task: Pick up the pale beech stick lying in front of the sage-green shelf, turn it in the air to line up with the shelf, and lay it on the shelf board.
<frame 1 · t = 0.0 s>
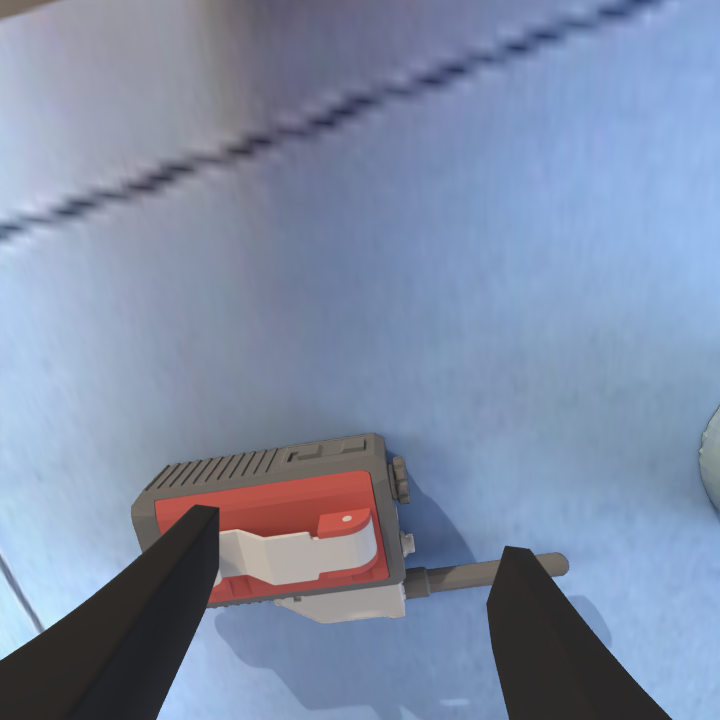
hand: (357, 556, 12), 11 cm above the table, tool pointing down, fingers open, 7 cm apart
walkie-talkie: (348, 512, 23), on the table
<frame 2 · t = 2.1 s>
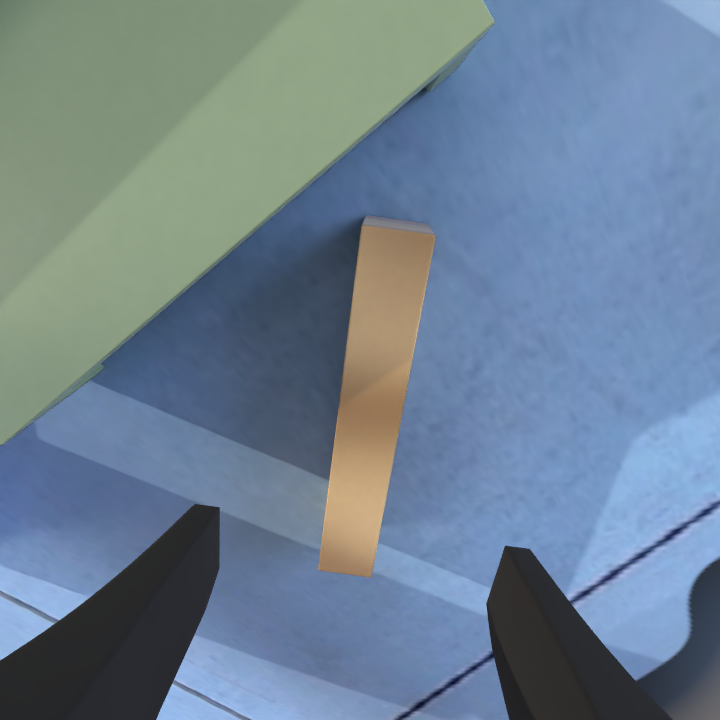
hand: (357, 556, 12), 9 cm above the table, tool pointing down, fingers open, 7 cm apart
stick: (369, 394, 20), on the table
shelf: (161, 148, 17), on the table
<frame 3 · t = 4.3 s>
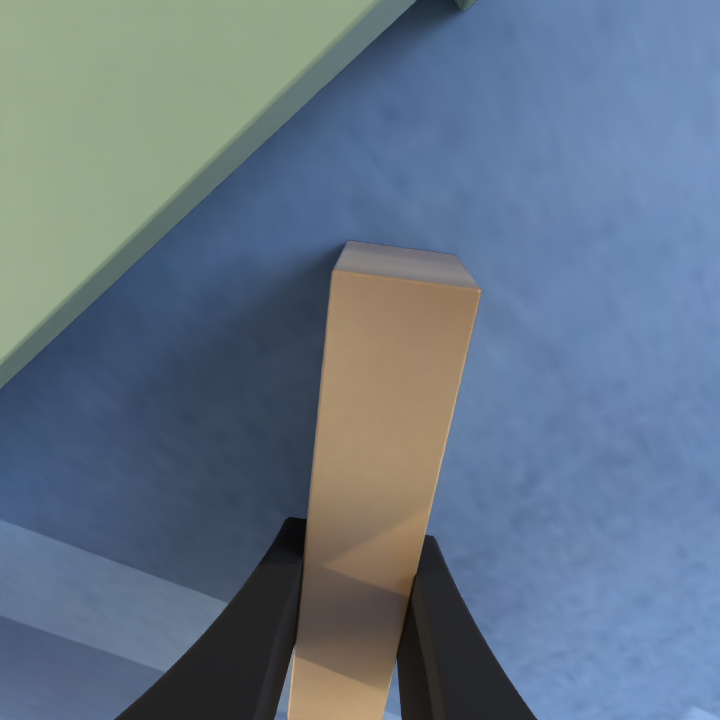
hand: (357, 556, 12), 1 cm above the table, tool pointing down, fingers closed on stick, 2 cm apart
stick: (359, 517, 13), on the table, touching gripper
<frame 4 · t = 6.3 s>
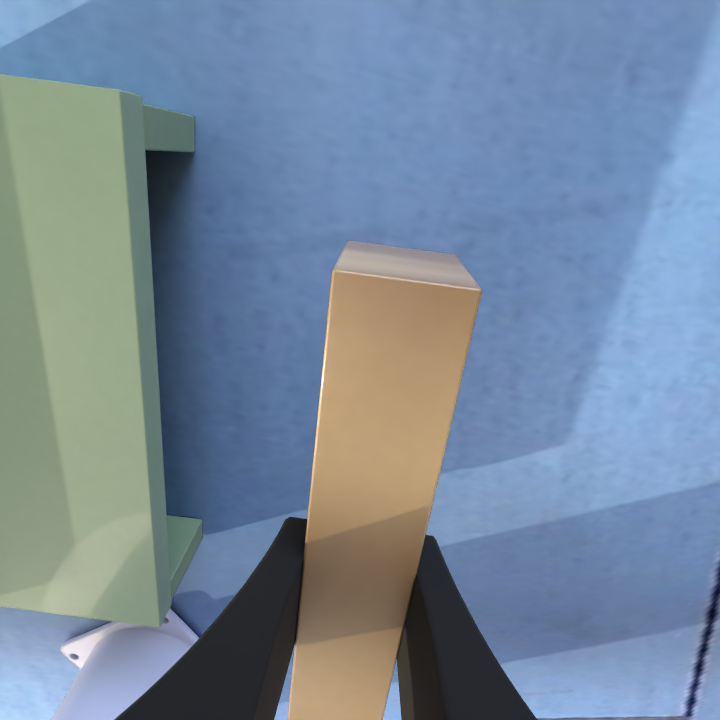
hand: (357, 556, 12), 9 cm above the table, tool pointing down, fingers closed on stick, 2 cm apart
stick: (359, 516, 13), point 8 cm above the table, touching gripper
shelf: (97, 353, 20), on the table
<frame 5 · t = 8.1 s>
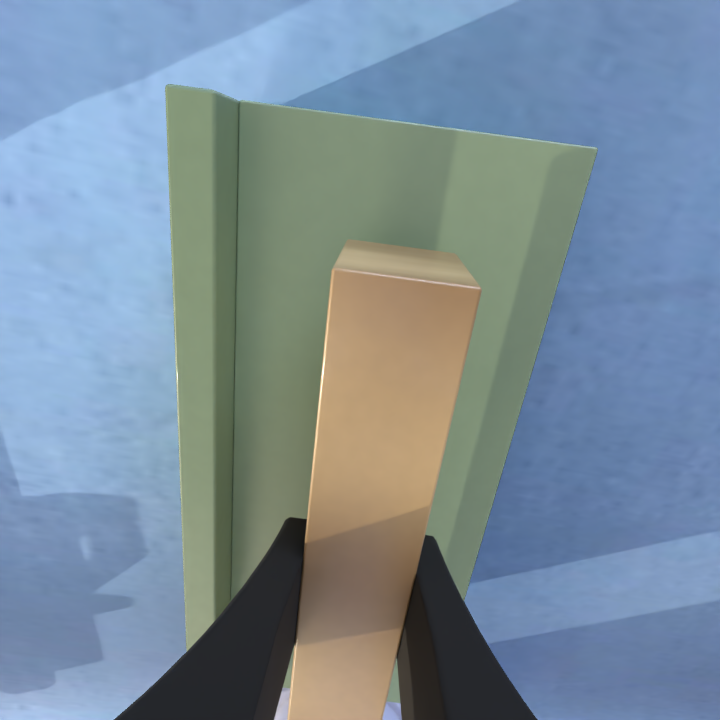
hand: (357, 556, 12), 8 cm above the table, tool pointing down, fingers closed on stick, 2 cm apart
stick: (359, 516, 13), point 6 cm above the table, touching gripper
shelf: (356, 406, 19), on the table
when the fingers open (6 cm above the table, at t = 8.7 s): stick stays where it is, resting on shelf.
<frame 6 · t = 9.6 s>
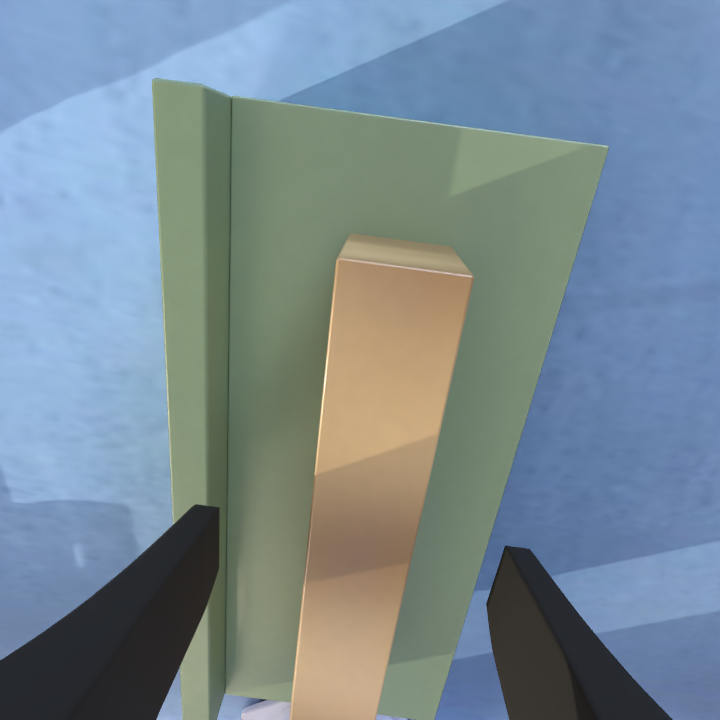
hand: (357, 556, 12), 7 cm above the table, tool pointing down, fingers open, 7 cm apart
stick: (360, 498, 14), point 5 cm above the table, touching shelf
shelf: (355, 412, 18), on the table
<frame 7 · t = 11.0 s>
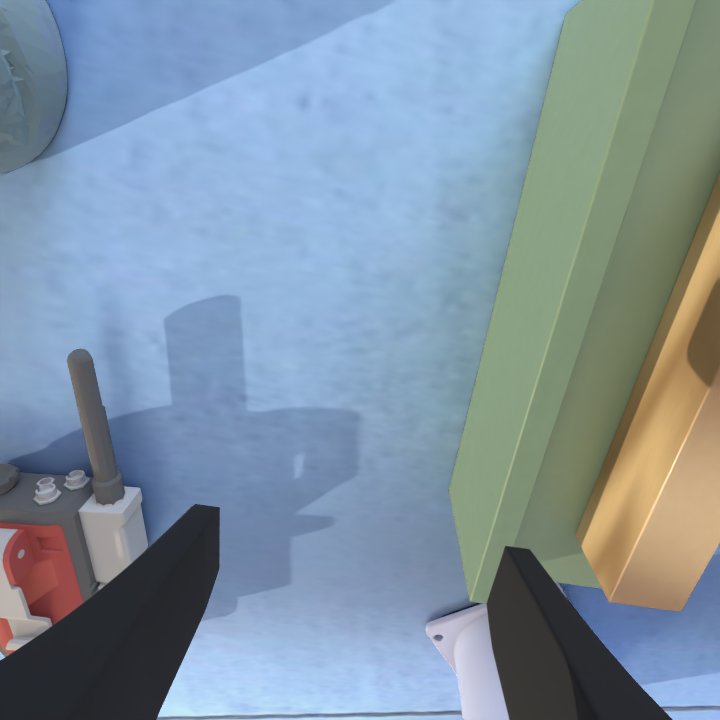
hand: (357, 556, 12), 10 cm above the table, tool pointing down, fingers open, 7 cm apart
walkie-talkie: (73, 505, 25), on the table
stick: (682, 361, 15), point 5 cm above the table, touching shelf
shelf: (601, 313, 20), on the table
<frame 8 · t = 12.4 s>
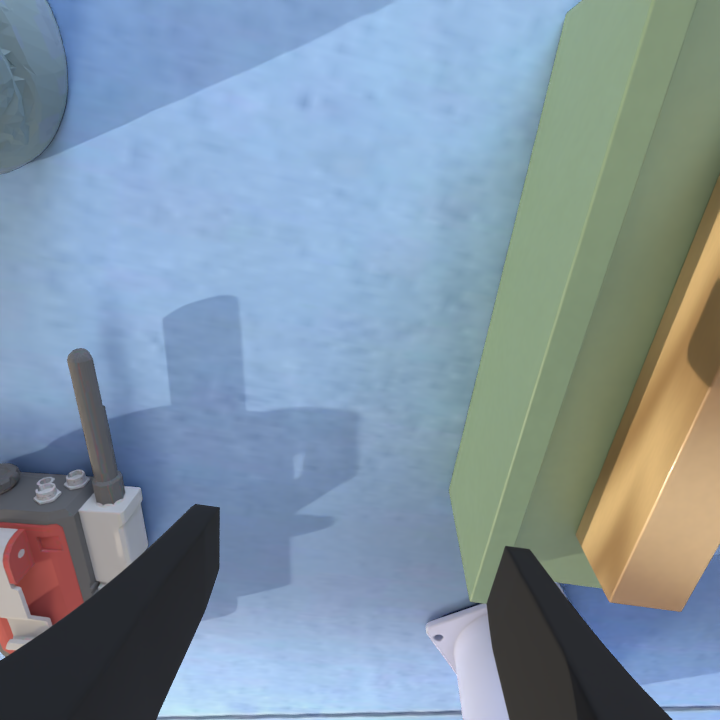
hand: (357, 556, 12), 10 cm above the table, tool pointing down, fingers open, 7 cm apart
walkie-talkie: (73, 505, 25), on the table
stick: (682, 361, 15), point 5 cm above the table, touching shelf
shelf: (601, 313, 20), on the table
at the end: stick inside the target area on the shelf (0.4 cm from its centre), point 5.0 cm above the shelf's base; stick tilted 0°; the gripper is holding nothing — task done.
